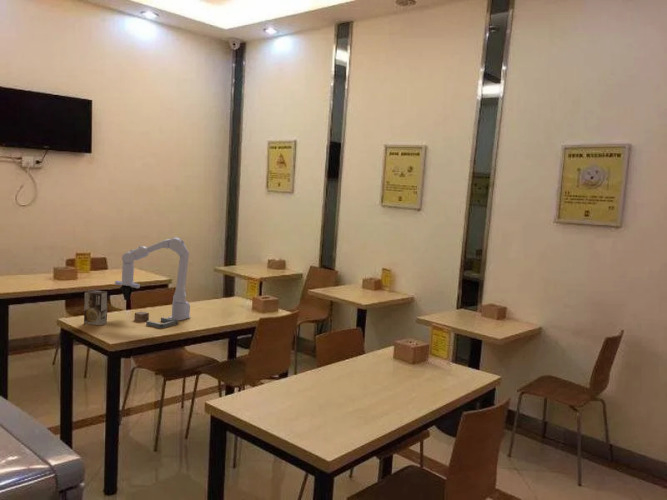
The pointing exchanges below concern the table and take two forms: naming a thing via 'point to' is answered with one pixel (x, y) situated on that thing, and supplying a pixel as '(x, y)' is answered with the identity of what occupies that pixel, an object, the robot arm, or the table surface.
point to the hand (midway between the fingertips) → (126, 299)
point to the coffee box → (95, 307)
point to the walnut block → (141, 316)
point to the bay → (167, 323)
